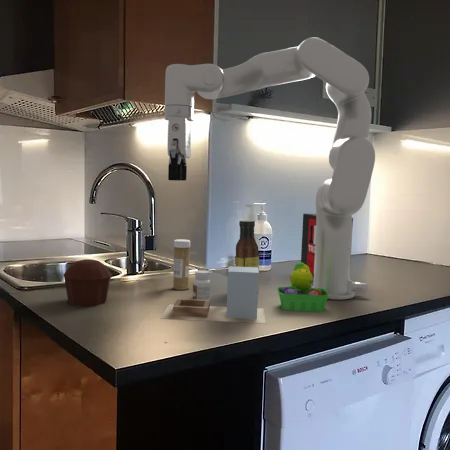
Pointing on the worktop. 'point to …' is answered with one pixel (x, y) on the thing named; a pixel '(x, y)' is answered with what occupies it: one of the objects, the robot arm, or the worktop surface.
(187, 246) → the sprinkles bottle
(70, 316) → the worktop surface
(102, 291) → the muffin
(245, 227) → the sauce bottle
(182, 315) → the board
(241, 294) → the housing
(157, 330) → the worktop surface
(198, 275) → the pill bottle
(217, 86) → the robot arm
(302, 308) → the fruit basket
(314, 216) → the cleaning product box
